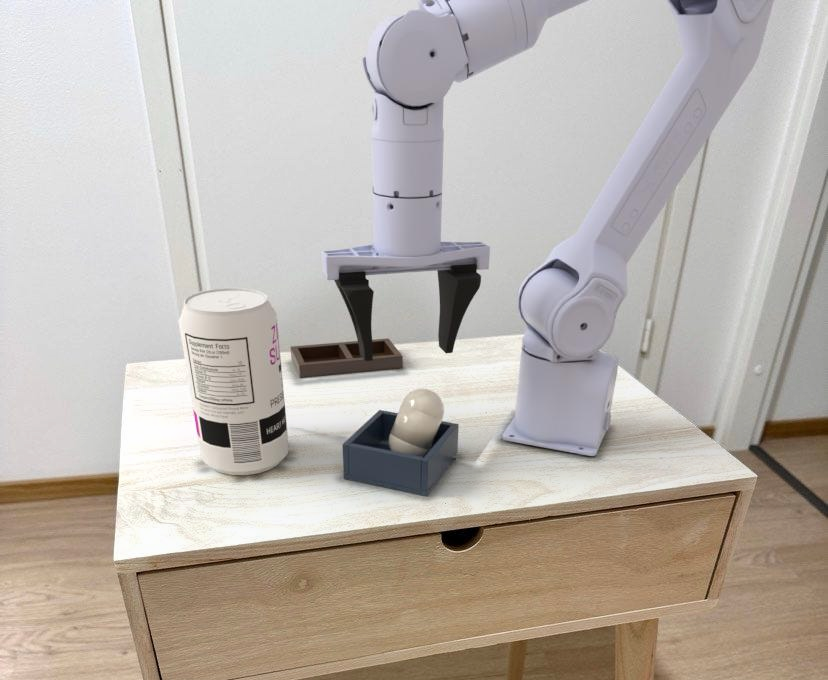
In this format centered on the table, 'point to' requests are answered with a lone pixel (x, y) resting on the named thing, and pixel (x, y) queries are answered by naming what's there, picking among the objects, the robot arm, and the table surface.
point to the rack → (344, 358)
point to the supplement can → (235, 379)
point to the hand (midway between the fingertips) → (406, 353)
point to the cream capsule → (417, 423)
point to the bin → (397, 457)
